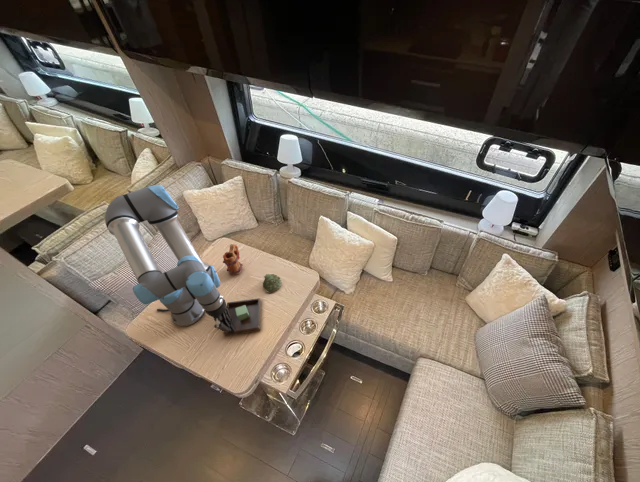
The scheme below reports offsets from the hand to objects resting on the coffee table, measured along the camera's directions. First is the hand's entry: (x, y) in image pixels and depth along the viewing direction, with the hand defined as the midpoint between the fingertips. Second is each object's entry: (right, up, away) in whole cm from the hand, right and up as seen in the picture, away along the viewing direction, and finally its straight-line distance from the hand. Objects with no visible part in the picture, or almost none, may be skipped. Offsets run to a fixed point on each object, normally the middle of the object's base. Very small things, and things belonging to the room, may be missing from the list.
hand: (232, 331), depth 122 cm
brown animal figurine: (-16, +28, +43) cm, 53 cm away
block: (-3, +3, +21) cm, 22 cm away
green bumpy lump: (+7, +18, +36) cm, 41 cm away
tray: (-3, +2, +21) cm, 21 cm away
